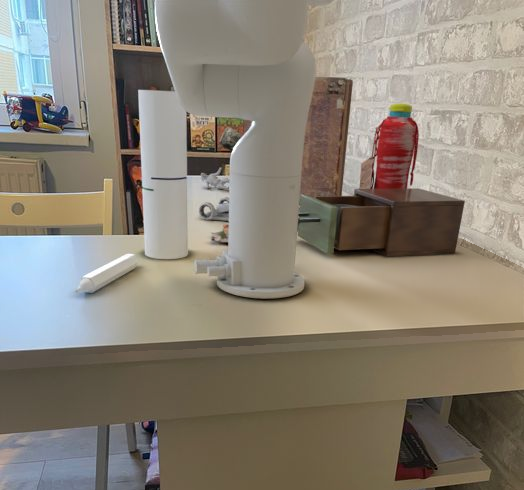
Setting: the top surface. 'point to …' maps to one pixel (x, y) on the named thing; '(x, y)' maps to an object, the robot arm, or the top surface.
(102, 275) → the marker
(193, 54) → the robot arm
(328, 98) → the book
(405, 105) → the water bottle
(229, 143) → the plant with pod
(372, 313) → the top surface
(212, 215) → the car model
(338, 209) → the tin
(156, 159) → the cylindrical container
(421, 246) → the cabinet
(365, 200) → the drawer
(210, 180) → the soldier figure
